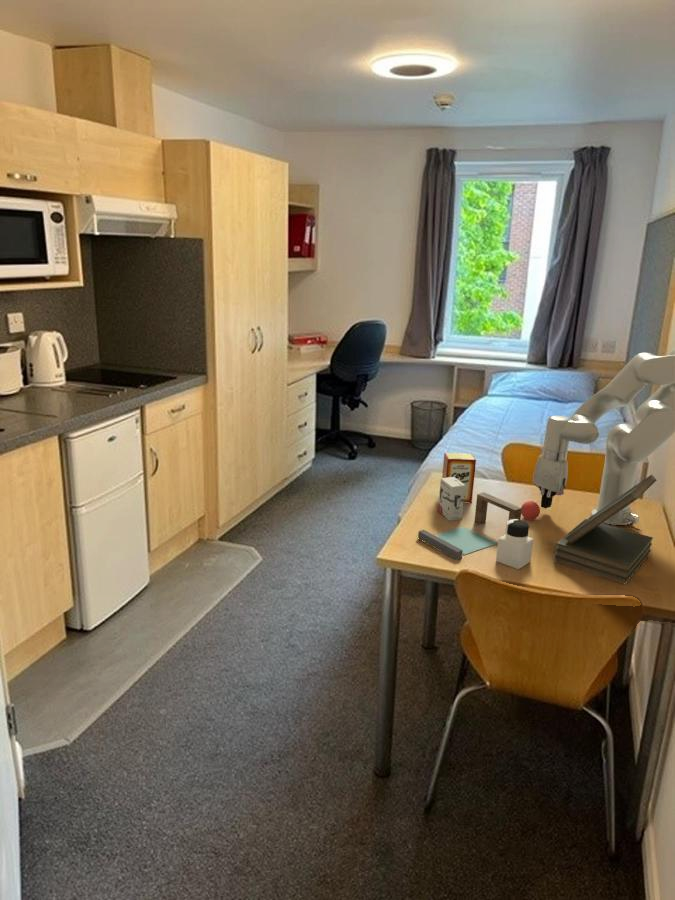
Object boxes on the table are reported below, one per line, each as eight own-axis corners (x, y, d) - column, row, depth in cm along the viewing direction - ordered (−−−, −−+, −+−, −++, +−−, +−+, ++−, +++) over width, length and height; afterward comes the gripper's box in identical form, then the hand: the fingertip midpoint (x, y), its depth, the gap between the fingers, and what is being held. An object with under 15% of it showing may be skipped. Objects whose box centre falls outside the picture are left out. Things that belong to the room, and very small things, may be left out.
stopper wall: (461, 558, 182) (462, 550, 181) (456, 560, 181) (457, 551, 180) (423, 537, 194) (423, 529, 193) (418, 538, 193) (418, 531, 192)
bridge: (480, 520, 207) (483, 492, 204) (518, 537, 196) (521, 508, 193) (474, 522, 206) (477, 494, 203) (511, 540, 194) (515, 510, 191)
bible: (582, 537, 199) (594, 459, 191) (649, 557, 187) (665, 475, 179) (552, 563, 182) (565, 479, 174) (625, 586, 170) (641, 498, 162)
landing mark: (497, 543, 191) (497, 543, 191) (464, 555, 184) (464, 554, 183) (463, 526, 202) (463, 526, 202) (430, 537, 194) (430, 536, 194)
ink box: (436, 510, 214) (439, 477, 210) (450, 509, 215) (453, 476, 212) (448, 521, 206) (452, 486, 203) (462, 519, 208) (466, 485, 204)
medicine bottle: (531, 561, 181) (536, 522, 177) (518, 570, 176) (523, 529, 172) (508, 553, 186) (512, 514, 182) (495, 561, 181) (499, 521, 177)
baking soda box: (467, 495, 228) (471, 452, 223) (471, 503, 222) (476, 458, 217) (440, 495, 227) (444, 452, 223) (444, 502, 221) (448, 457, 216)
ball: (542, 520, 209) (545, 503, 207) (530, 524, 206) (533, 506, 204) (527, 514, 214) (530, 497, 212) (515, 517, 210) (517, 500, 208)
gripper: (528, 449, 212) (520, 501, 218) (567, 462, 201) (557, 517, 206) (542, 446, 216) (534, 497, 222) (581, 459, 205) (571, 512, 210)
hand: (545, 506), depth 214 cm, fingers closed
